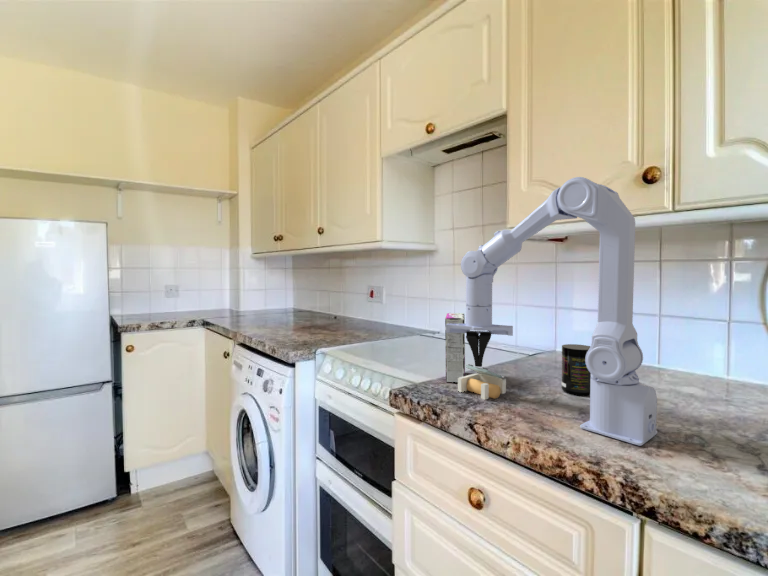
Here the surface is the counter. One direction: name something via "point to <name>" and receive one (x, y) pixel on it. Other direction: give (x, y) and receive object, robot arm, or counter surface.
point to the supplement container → (575, 370)
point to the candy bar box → (455, 349)
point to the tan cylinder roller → (475, 387)
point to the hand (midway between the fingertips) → (478, 365)
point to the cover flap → (483, 371)
